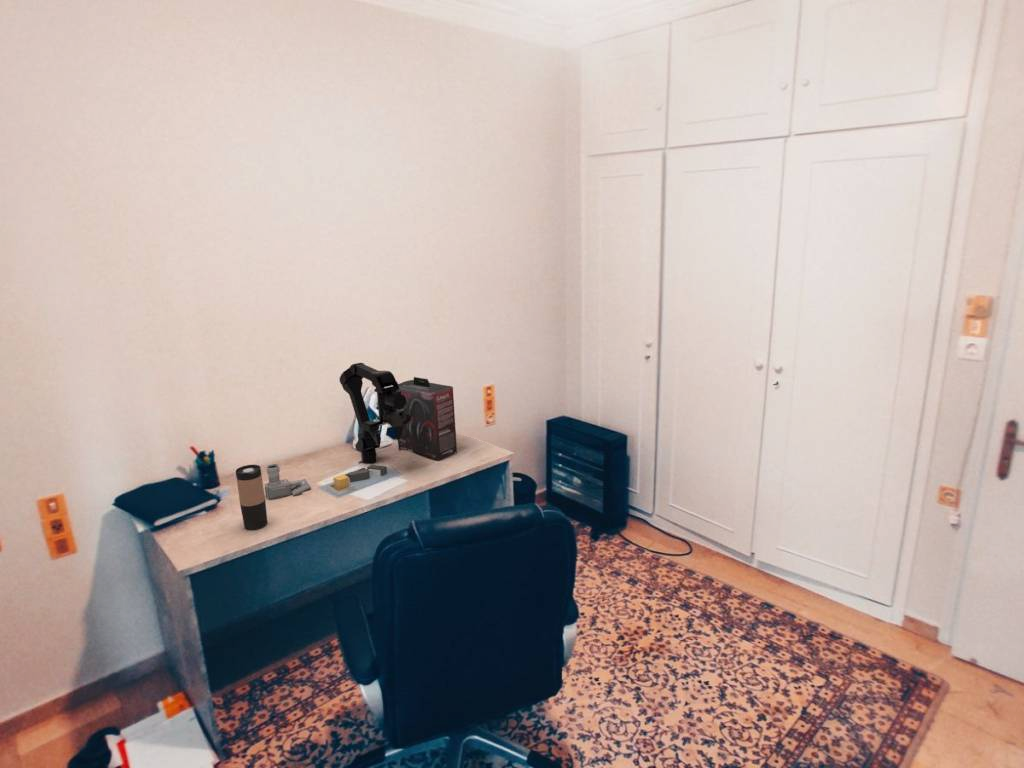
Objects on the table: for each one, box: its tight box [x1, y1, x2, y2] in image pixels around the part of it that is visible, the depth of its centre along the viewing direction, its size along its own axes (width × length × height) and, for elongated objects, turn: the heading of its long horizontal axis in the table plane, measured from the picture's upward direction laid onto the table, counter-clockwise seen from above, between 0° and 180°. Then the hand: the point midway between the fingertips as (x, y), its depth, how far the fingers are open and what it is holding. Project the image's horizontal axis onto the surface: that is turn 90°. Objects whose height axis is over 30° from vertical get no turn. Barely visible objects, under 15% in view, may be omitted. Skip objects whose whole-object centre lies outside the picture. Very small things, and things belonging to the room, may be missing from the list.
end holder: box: [326, 483, 356, 496], centre depth 227 cm, size 8×7×2 cm
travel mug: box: [235, 464, 268, 531], centre depth 201 cm, size 8×8×20 cm
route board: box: [317, 464, 404, 499], centre depth 235 cm, size 14×29×4 cm, turn 136°
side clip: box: [344, 467, 371, 485], centre depth 236 cm, size 5×10×2 cm, turn 136°
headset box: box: [396, 376, 458, 461], centre depth 262 cm, size 25×12×33 cm, turn 53°
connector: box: [332, 473, 350, 490], centre depth 227 cm, size 4×4×5 cm
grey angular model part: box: [263, 463, 312, 501], centre depth 227 cm, size 9×12×15 cm
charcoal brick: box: [348, 468, 369, 483], centre depth 236 cm, size 3×7×3 cm, turn 114°
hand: (388, 442), depth 241 cm, fingers open, 9 cm apart
